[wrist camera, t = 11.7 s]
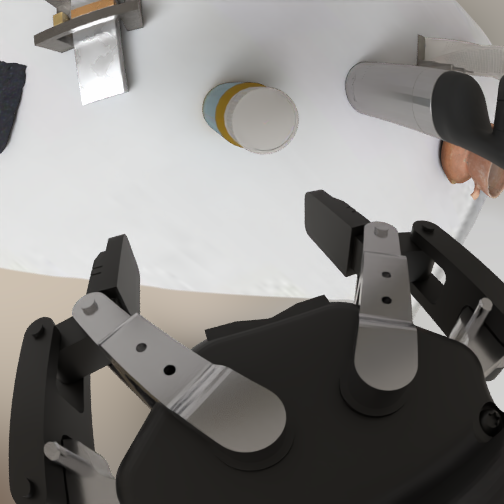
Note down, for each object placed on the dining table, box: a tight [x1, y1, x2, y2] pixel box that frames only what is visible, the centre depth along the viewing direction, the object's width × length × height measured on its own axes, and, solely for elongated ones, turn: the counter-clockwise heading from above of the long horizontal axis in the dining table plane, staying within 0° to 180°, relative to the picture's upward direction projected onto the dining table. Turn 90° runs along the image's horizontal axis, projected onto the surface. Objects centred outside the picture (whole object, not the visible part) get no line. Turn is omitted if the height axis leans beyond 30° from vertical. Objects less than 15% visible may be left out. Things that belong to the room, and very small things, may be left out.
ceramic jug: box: [441, 123, 504, 200], centre depth 44 cm, size 18×14×14 cm
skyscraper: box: [417, 35, 504, 80], centre depth 26 cm, size 8×8×28 cm
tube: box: [71, 0, 129, 105], centre depth 22 cm, size 20×5×5 cm, turn 5°
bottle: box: [203, 82, 299, 154], centre depth 29 cm, size 7×7×15 cm
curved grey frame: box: [34, 0, 143, 53], centre depth 18 cm, size 11×8×10 cm
